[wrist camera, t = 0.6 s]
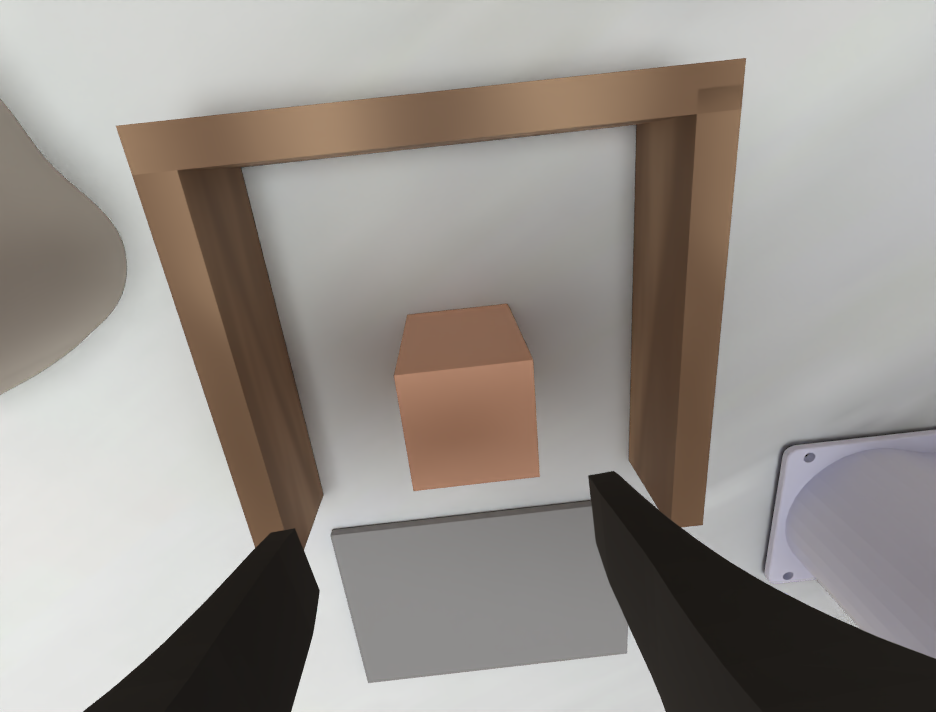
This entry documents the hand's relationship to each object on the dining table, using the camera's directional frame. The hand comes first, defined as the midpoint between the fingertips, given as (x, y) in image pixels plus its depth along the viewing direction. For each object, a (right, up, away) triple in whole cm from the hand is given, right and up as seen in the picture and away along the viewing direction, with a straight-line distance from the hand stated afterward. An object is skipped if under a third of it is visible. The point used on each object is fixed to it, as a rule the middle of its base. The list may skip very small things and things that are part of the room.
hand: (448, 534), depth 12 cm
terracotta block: (0, +4, +9) cm, 10 cm away
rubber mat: (+2, -8, +13) cm, 15 cm away
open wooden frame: (0, +5, +8) cm, 10 cm away
